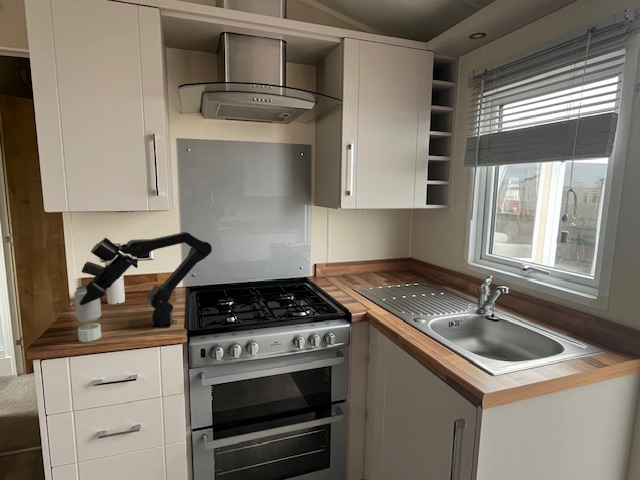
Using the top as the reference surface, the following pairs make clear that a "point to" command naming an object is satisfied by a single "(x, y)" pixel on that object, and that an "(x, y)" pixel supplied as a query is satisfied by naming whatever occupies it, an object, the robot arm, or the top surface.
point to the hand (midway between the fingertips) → (83, 301)
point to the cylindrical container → (116, 289)
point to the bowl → (89, 332)
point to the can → (86, 306)
